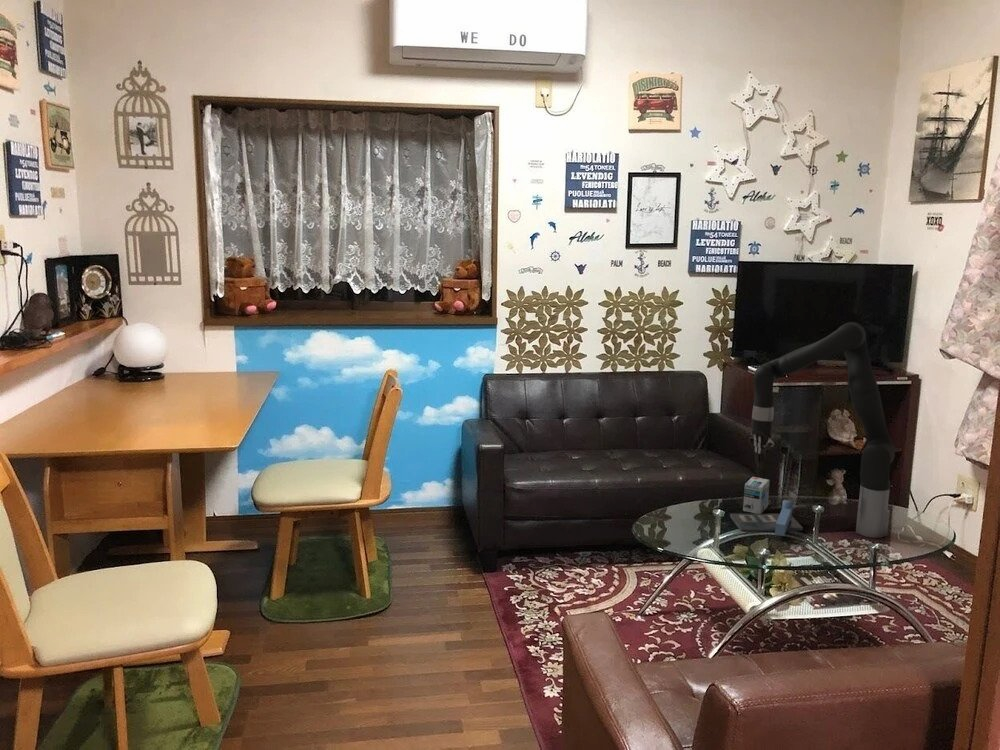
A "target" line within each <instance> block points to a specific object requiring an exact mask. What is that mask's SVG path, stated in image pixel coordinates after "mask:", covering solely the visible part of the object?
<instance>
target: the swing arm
mask: <svg viewBox="0 0 1000 750" xmlns="http://www.w3.org/2000/svg"><path fill="white" fill-rule="evenodd" d="M781 505H782V506H781V510H780V513H779V514H780V515H779V517H778V519H777V522H776V527H775V531H774V535H777V536H783V537H785V534H786V533H787V531H786V530H787V527H788V524H789V522H790V519H792V517H793V508H794V507H793V506H794V502H793V501H792V500H790V499H783V500H782V504H781Z"/></svg>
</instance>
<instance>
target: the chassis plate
mask: <svg viewBox="0 0 1000 750" xmlns="http://www.w3.org/2000/svg"><path fill="white" fill-rule="evenodd" d="M779 515H780V513H761V514H756V513H730V514H729V518H731V520H732V522H734V525H736V527H737V528H738V529H739V531H740V530H747V532H751V531H752V532H758V531H759V532H771V531H773V532H775V527H776V522H777V519H778V517H779ZM803 530H804V527H803V525H801V524H800V523H799V521H797V519H795V518H794V517H793V516H792V519H790V522H789V524H788V527H787V530H786V532H789V531H790V532H794V531H795V532H796V531H797V532H798V531H799V532H803Z"/></svg>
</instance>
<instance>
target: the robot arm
mask: <svg viewBox="0 0 1000 750" xmlns="http://www.w3.org/2000/svg"><path fill="white" fill-rule="evenodd" d="M867 341H868V340H867V333H866V330H865V328H864V327H863V326H862V325H861V324H860V323H858V322H855V321H850V322H849V321H848V322H846V323H844V324H842V325H841V326H839V327H838V328H837V329H836V330H835V331H832V332H831V333H830V334H829V335H827V336H825V337H823V338H821V339H820V340H818V341H815V342H813V343H810V344H807V345H805V346H803V347H799V348H797V349H794V350H792V351H791V352H788V353H785V354H783V355H782V356H780V357H778V358H775V359H773V360H770V361H768V362H765V363H762V364H761V365H760V366H759V367H757V368H756V369H755V371H754V375H753V389H754V396H753V407H752V413H751V424H750V425H751V426H750V428H751V433H749V434H746V438H747V441H748V443H749V445H750V448H751V450H753V451H754V452H755V453H754V454H755V456H754V459H755V462H756V463H757V464H761V463H763V462H764V459H765V454H766V453H767V454H768V453H769V452H770V451H771V450H772V449H773V448H774V447H775V445H777V444H776V442H775V441H773V440H772V434H771V432H772V431H773V426H774V418H775V417H774V415H775V414H774V413H775V409H774V405H775V392H774V390H773V389H774V381H776V380H777V379H779V378H782V377H784V376H786V375H790V374H794V373H795V372H798V371H800V370H802V369H804V368H807V367H809V366H811V365H813V364H815V363H817V362H818V361H821V360H823V359H825V358H828V357H830V356H833V355H837V354H839V353H843V354H844V357H845V360H846V366H847V382H848V383H847V384H848V385H847V386H848V391H849V397H850V401H851V404H852V407H853V410H854V412H855V414H856V416H857V417H858V419H859V421H860V423H861V424H862V426H863V430H864V434H865V440H866V447H865V448H863V449H862V450H863V451H862V452H861V458H860V469H859V471H860V473H859V477H860V488H859V498H858V505H857V516H856V525H855V526H856V527H855V532H856V533H857V534H859V535H861V536H863V537H866V538H871V539H872V538H873V539H878V538H879V539H880V538H883V537H887V536H888V533H889V520H890V514H891V511H890V509H889V497H890V488H891V480H890V473H891V472H890V471H891V464H892V463H893V462H894V460H895V457H896V451H895V450H896V449H895V446H894V444H893V442H892V438H891V435H890V434H889V431H888V428H887V427H888V426H887V424H886V418H885V412H884V409H883V402H882V398H881V394H880V389H879V386H878V385H879V384H878V383H877V379H876V376H875V373H874V370H873V366H872V363H871V360H870V357H869V349H868V342H867Z"/></svg>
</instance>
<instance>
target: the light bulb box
mask: <svg viewBox="0 0 1000 750" xmlns="http://www.w3.org/2000/svg"><path fill="white" fill-rule="evenodd" d="M743 493H744V494H743V507H742V511H743V512H746V513H750V514H763V512H764V511H765V510H766V509H767V508H769V507H768V506H769V493H770V479H767V478H761V477H756V476H752V477H751V478H750V479H749V480H748V481H747V482H745V484H744V492H743Z"/></svg>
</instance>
